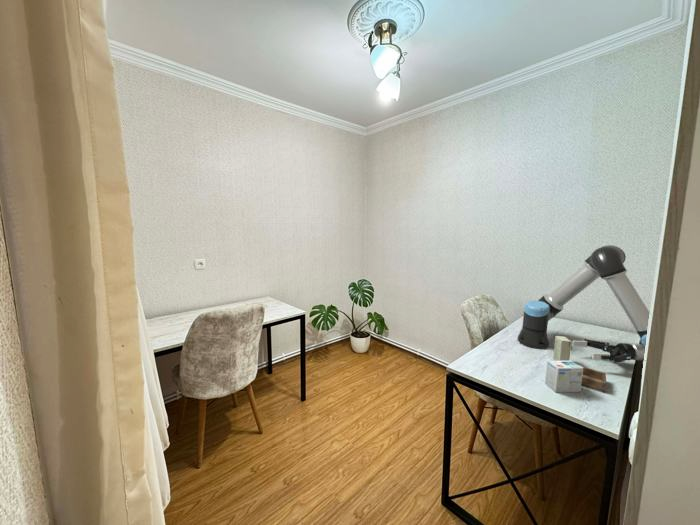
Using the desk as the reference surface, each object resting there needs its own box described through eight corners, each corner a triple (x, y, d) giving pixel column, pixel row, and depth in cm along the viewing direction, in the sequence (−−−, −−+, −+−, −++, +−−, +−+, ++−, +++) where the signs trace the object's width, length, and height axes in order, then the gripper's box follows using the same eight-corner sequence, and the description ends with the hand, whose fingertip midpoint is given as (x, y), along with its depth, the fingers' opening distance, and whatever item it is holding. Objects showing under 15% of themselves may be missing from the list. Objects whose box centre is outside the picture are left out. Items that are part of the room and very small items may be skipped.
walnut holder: (570, 382, 122) (571, 374, 121) (572, 372, 130) (573, 364, 129) (604, 392, 115) (606, 383, 114) (604, 381, 123) (605, 372, 122)
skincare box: (569, 365, 136) (572, 341, 134) (559, 364, 137) (562, 340, 135) (562, 359, 142) (565, 336, 140) (552, 358, 143) (555, 335, 141)
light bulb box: (568, 383, 122) (571, 359, 120) (581, 392, 115) (584, 367, 113) (543, 383, 121) (546, 359, 120) (555, 392, 115) (558, 368, 113)
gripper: (653, 372, 124) (601, 370, 126) (607, 347, 148) (564, 345, 150) (656, 356, 123) (603, 354, 125) (610, 333, 147) (566, 331, 149)
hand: (582, 349), depth 138 cm, fingers open, 13 cm apart
